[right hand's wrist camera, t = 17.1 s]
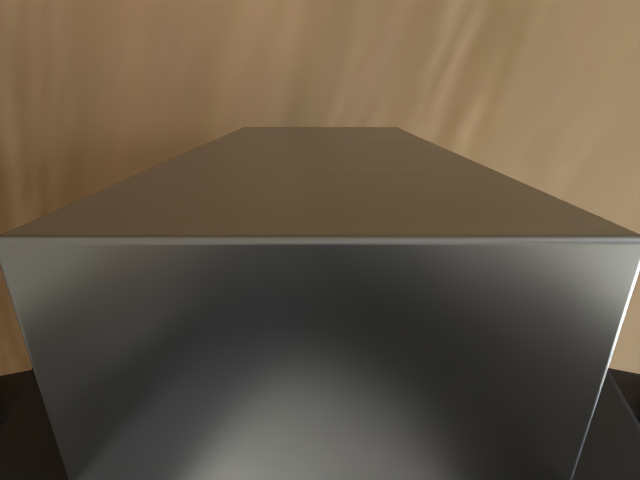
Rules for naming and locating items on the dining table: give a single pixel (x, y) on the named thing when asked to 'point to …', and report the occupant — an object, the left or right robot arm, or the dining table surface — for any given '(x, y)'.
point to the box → (320, 315)
